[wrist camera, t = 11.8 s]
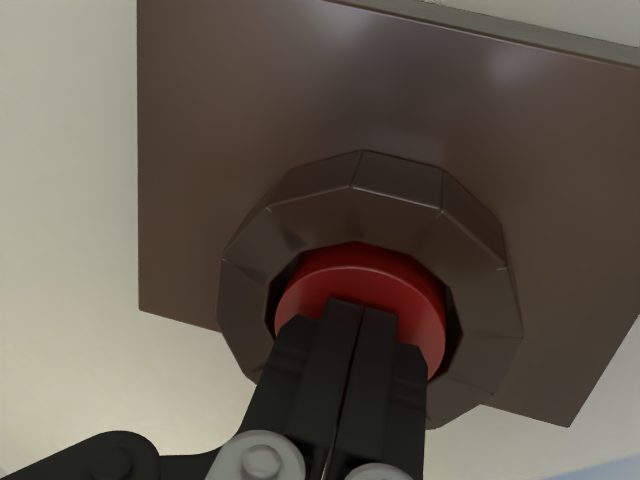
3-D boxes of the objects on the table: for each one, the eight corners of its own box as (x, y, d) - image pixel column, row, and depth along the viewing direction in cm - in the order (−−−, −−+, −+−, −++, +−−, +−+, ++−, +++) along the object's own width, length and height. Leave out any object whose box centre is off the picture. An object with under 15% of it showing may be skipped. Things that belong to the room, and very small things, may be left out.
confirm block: (725, 66, 12) (836, 131, 8) (553, 377, 17) (578, 496, 13) (180, -52, 13) (82, -37, 9) (170, 274, 18) (103, 361, 14)
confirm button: (467, 246, 12) (468, 294, 11) (422, 365, 14) (419, 419, 13) (305, 205, 12) (285, 246, 11) (284, 328, 14) (264, 376, 13)
